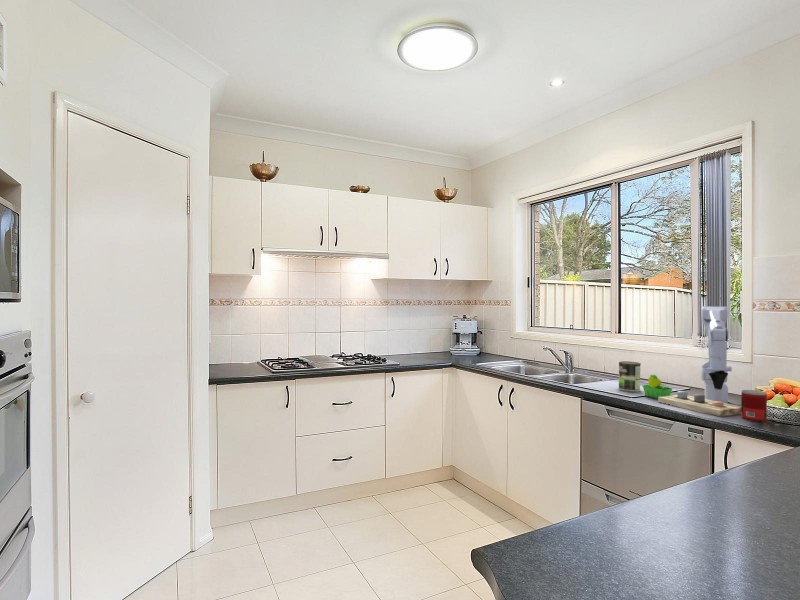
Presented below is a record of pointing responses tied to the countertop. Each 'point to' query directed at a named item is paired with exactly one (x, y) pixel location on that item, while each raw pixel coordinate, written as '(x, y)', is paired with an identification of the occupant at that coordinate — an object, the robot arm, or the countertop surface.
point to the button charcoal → (699, 398)
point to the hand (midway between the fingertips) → (718, 389)
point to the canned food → (754, 405)
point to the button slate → (682, 395)
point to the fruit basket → (656, 388)
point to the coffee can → (629, 376)
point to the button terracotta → (717, 404)
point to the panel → (701, 406)
